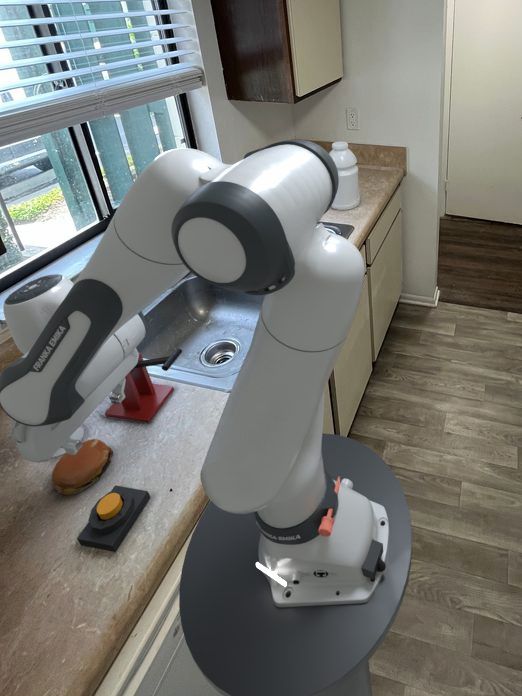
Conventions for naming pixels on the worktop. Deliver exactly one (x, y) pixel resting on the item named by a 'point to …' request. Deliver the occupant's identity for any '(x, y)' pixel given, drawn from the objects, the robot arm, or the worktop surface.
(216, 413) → the worktop surface
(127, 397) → the bracket
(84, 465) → the burger
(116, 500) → the button
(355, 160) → the bottle
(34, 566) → the worktop surface
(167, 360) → the lever
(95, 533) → the button box
